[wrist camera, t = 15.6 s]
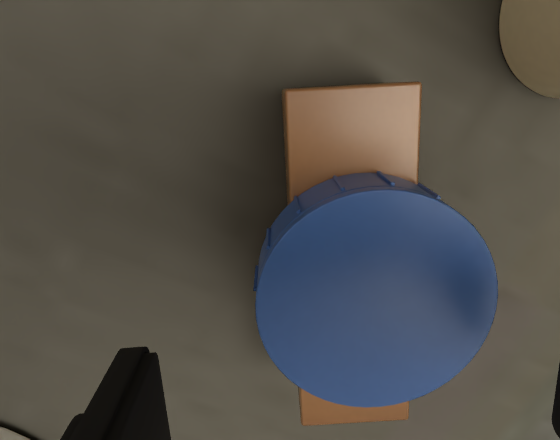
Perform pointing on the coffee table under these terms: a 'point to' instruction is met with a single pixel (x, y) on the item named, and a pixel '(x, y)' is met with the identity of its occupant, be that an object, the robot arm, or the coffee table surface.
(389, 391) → the lid
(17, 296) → the coffee table surface
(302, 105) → the block
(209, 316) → the coffee table surface
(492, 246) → the coffee table surface
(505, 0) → the jar
